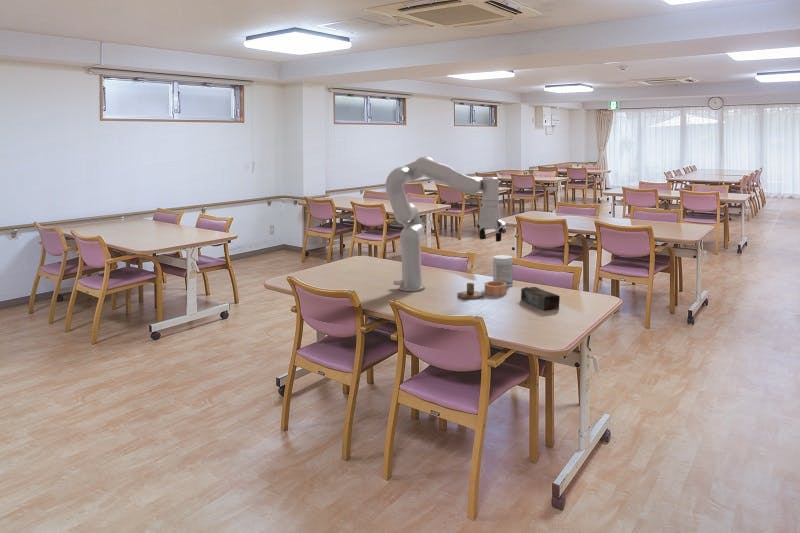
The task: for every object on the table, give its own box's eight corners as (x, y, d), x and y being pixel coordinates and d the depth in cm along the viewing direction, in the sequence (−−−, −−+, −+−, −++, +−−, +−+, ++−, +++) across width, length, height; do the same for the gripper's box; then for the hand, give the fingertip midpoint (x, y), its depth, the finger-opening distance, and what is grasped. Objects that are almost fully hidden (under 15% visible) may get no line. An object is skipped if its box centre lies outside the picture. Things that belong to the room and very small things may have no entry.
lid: (458, 299, 277) (458, 286, 275) (458, 293, 287) (458, 280, 286) (483, 299, 276) (483, 286, 275) (481, 292, 287) (481, 280, 285)
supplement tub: (516, 286, 300) (516, 256, 296) (502, 289, 295) (502, 259, 291) (503, 282, 308) (503, 254, 304) (488, 285, 303) (489, 256, 299)
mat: (457, 300, 276) (457, 299, 276) (457, 293, 288) (457, 292, 288) (484, 300, 276) (484, 299, 275) (482, 293, 287) (482, 292, 287)
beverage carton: (535, 298, 277) (535, 284, 276) (560, 309, 260) (560, 294, 258) (520, 300, 274) (520, 286, 273) (544, 311, 257) (544, 296, 255)
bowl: (485, 297, 281) (485, 286, 280) (484, 291, 291) (484, 281, 290) (507, 296, 281) (507, 286, 280) (505, 291, 290) (505, 281, 289)
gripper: (471, 203, 285) (471, 239, 289) (500, 206, 273) (499, 243, 276) (481, 201, 290) (481, 237, 294) (510, 204, 277) (510, 241, 281)
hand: (490, 240), depth 285 cm, fingers open, 9 cm apart
